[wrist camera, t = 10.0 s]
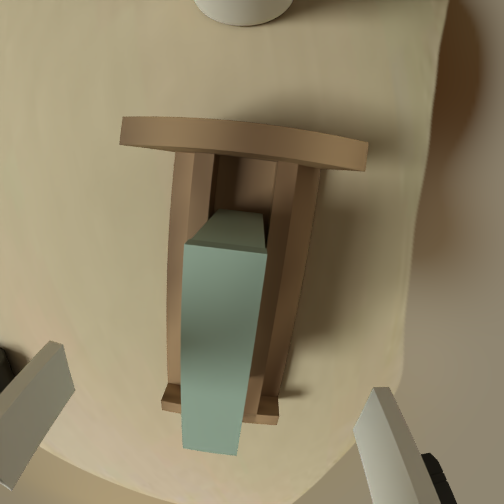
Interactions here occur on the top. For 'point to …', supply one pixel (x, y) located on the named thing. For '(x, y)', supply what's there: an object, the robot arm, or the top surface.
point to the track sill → (248, 200)
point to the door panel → (219, 327)
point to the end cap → (4, 371)
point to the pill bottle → (243, 10)
